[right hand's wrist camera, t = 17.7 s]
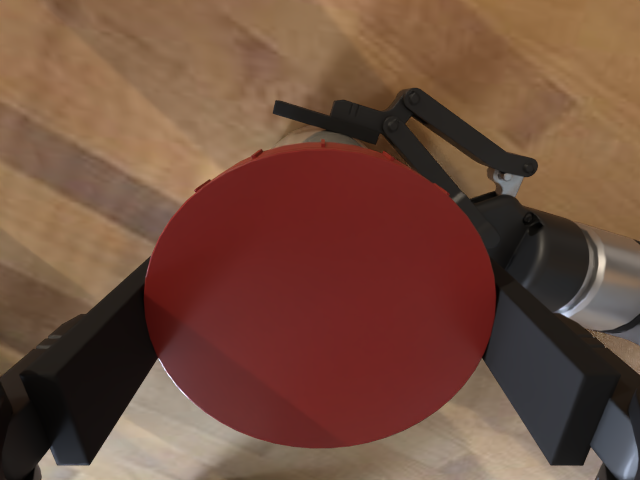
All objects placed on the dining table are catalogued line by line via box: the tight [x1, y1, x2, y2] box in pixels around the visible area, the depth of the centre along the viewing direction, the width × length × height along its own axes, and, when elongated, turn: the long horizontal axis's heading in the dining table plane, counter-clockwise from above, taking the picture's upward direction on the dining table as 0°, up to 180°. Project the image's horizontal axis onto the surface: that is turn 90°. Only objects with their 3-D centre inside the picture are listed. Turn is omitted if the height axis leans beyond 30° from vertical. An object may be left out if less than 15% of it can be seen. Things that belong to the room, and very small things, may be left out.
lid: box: [144, 139, 496, 448], centre depth 11 cm, size 11×11×2 cm
